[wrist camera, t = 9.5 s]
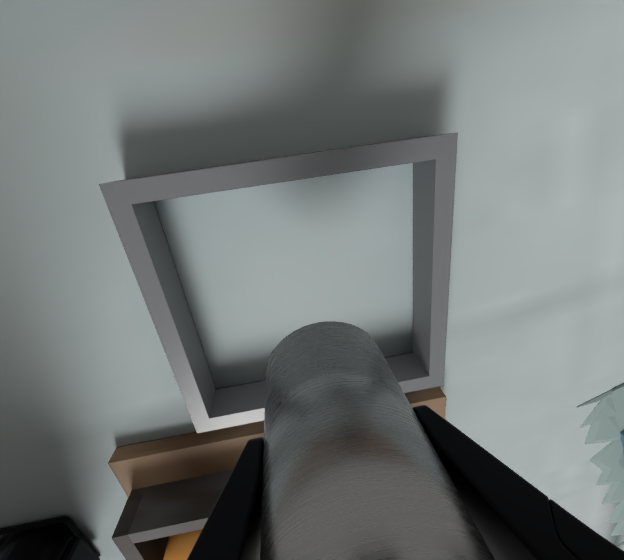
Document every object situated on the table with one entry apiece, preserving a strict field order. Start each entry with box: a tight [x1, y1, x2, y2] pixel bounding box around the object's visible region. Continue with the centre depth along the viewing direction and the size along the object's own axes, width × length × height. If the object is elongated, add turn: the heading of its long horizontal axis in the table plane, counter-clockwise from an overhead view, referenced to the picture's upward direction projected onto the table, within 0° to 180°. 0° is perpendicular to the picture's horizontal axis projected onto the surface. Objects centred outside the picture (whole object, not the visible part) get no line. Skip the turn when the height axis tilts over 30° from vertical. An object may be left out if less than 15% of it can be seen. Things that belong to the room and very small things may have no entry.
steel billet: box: [260, 322, 495, 560], centre depth 8 cm, size 4×4×8 cm
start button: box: [163, 529, 202, 560], centre depth 22 cm, size 7×7×2 cm
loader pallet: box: [108, 386, 446, 560], centre depth 24 cm, size 24×16×4 cm, turn 97°
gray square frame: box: [99, 133, 458, 433], centre depth 18 cm, size 16×15×2 cm
